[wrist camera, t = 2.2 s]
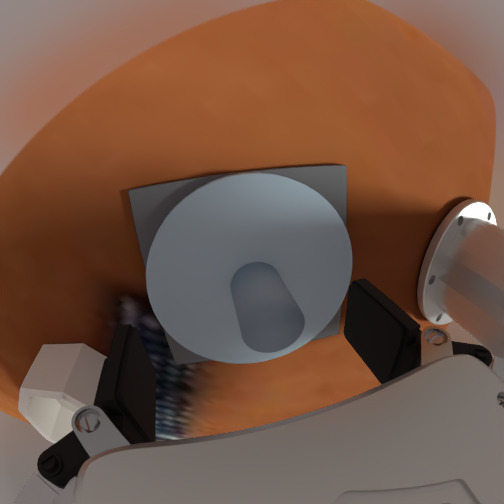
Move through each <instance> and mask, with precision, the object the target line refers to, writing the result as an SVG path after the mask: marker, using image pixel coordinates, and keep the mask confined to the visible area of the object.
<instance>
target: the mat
mask: <svg viewBox="0 0 504 504" xmlns="http://www.w3.org/2000/svg"><path fill="white" fill-rule="evenodd" d="M247 172H261V173H271V174H276V175H280V176H284V177H287V178H290V179H293V180H295V181H297V182H300V183H302V184H305V185H306V186H308V187H310V188H311V189H313V190H315V191H316V192H318V193H319V194H320V195H321V196H322V197H324V198H325V199H326V200H327V201H328V202H329V203H330V204H331V205H332V206H333V208H334V209H335V210H336V211H337V213H338V214H339V216H340V218H341V219H342V221H343V223H344V225H345V227H346V224H347V178H346V165H317V166H300V167H286V168H274V169H263V170H253V171H243V172H235V173H226V174H219V175H211V176H204V177H197V178H191V179H184V180H178V181H172V182H167V183H161V184H155V185H150V186H145V187H140V188H135V189H131V190H129V191H128V192H129V197H130V203H131V208H132V213H133V218H134V223H135V228H136V232H137V237H138V241H139V245H140V250H141V254H142V258H143V262H144V265H145V269H146V267H147V260H148V256H149V251H150V248H151V245H152V243H153V240H154V238H155V236H156V234H157V232H158V230H159V228H160V226H161V224H162V223H163V221H164V219H165V218H166V217H167V215H168V214H169V213H170V212H171V210H172V209H173V208H174V207H175V206H176V205H177V204H178V203H179V202H180V201H181V200H182V199H183V198H184V197H185V196H187V195H188V194H190V193H191V192H193V191H194V190H195V189H197V188H198V187H200V186H202V185H204V184H206V183H208V182H210V181H212V180H215V179H218V178H221V177H224V176H227V175H233V174H238V173H247ZM341 307H342V304H341V306H340V308H339V310H338V311H337V313H336V314H335V315H334V317H333V318H332V320H331V321H330V322H329V323H328V324H327V326H326V327H325V328H324V329H323V330H322V331H321V332H320V333H319V334H317V335H316V336H315V337H314V338H313V339H311V340H310V341H312V340H316V339H320V338H324V337H328V336H332V335H335V334H339V326H340V317H341ZM163 329H164V328H163ZM164 332H165V335H166V338H167V341H168V344H169V347H170V349H171V352H172V355H173V358H174V360H175V363H176V365H178V364H187V363H195V362H203V361H210V360H212V359H208V358H205V357H203V356H200V355H198V354H195V353H194V352H192V351H190V350H188V349H187V348H185V347H183V346H182V345H181V344H179V343H178V342H177V341H176V340H174V339H173V338H172V337H171V336H170V335H169V334H168V333H167V331H166V330H165V329H164Z"/></svg>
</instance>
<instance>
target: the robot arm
mask: <svg viewBox="0 0 504 504" xmlns="http://www.w3.org/2000/svg"><path fill="white" fill-rule="evenodd" d="M417 297H418V305H419V309H420V311H421V313H422V315H423V316H424V317H425V318H426V319H427V320H429V321H430V322H431V323H433V324H435V325H442V324H446V323H449V322H451V321H453V320H454V321H455V322H456V323H458V324H459V325H460V326H461V327H462V328H463V329H464V330H466V331H467V332H468V333H469V334H470V335H472V337H473V338H475V339H476V340H477V341H478V342H479V343H480V344H481V345H482V346H480V345H475V344H467V343H461V342H454V341H451V337H450V335H449V333H448V332H447V331H446V330H444V329H443V328H440V327H437V326H430V327H426V328H425V329H423V331H421V330H420V329H419V328H420V325H419V324H418V323H417V322H416V321H415V320H413V319H412V318H411V317H410V316H409V315H408V314H407V313H405V312H404V311H403V310H402V309H401V308H400V307H399V306H397V305H396V304H395V303H394V302H393V301H392V300H390V299H389V298H388V297H387V296H386V295H384V294H383V293H382V292H381V291H380V290H378V289H377V288H376V287H375V286H374V285H372V284H371V283H370V282H369V281H368V280H366V279H360V280H356V281H353V282H352V285H350V286H349V293H348V302H347V311H346V319H345V327H344V335H345V338H346V339H347V340H348V342H349V343H350V344H351V345H352V347H353V348H354V349H355V351H356V352H357V353H358V354H359V356H360V357H361V358H362V360H363V361H364V362H365V363H366V365H367V366H368V367H369V369H370V370H371V371H372V372H373V374H374V375H375V376H376V378H377V379H378V380H379V382H380V383H381V384H382V385H380V386H378V387H375V388H373V389H371V390H368V391H366V392H364V393H361V394H359V395H356V396H354V397H351V398H349V399H346V400H344V401H341V402H338V403H336V404H333V405H330V406H327V407H324V408H321V409H318V410H315V411H312V412H309V413H306V414H303V415H299V416H296V417H293V418H289V419H286V420H282V421H278V422H274V423H270V424H266V425H262V426H258V427H253V428H249V429H244V430H239V431H234V432H229V433H223V434H217V435H210V436H203V437H196V438H189V439H180V440H170V441H158V442H155V412H156V381H157V378H156V373H155V370H154V368H153V366H152V363H151V361H150V359H149V357H148V354H147V352H146V350H145V347H144V345H143V343H142V340H141V338H140V335H139V333H138V330H137V328H136V327H132V325H131V324H128V325H120V326H117V329H116V332H115V335H114V339H113V342H112V346H111V349H110V353H109V357H108V358H106V359H105V360H104V363H103V367H102V371H101V374H100V378H99V382H98V387H97V391H96V395H95V400H94V404H93V405H88V406H84V407H82V408H80V409H78V410H77V411H76V412H75V414H74V415H73V417H72V420H71V426H72V429H73V430H72V431H71V432H70V433H68V434H67V435H66V436H64V437H63V438H62V439H60V440H59V441H58V442H56V443H55V444H54V445H52V446H51V447H49V448H48V449H47V450H45V451H44V452H43V453H42V454H41V455H40V457H39V459H38V463H37V466H38V470H39V472H38V473H37V474H36V473H33V474H32V476H31V477H30V478H29V480H28V481H27V483H26V484H25V485H24V487H23V488H22V490H21V491H20V492H19V494H18V495H17V497H16V498H15V501H14V504H504V229H503V228H500V227H499V226H497V225H496V220H495V216H494V214H493V212H492V210H491V208H490V207H489V206H488V205H487V204H486V203H484V202H482V201H479V200H476V199H467V200H465V201H463V202H461V203H459V204H458V205H457V206H455V207H454V208H453V209H452V210H451V211H450V212H449V214H448V215H447V216H446V217H445V218H444V220H443V221H442V223H441V224H440V226H439V227H438V229H437V231H436V232H435V234H434V236H433V238H432V240H431V242H430V245H429V247H428V249H427V252H426V254H425V257H424V260H423V263H422V266H421V271H420V276H419V280H418V290H417ZM491 354H492V355H493V356H494V358H492V355H491Z"/></svg>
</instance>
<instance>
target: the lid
mask: <svg viewBox="0 0 504 504" xmlns="http://www.w3.org/2000/svg"><path fill="white" fill-rule="evenodd" d="M351 274H352V248H351V242H350V239H349V235H348V232H347V230H346V227H345V225H344V223H343V221H342V219H341V218H340V216H339V214H338V213H337V211H336V210H335V209H334V208H333V206H332V205H331V204H330V203H329V202H328V201H327V200H326V199H325V198H324V197H322V196H321V195H320V194H319V193H318V192H316V191H315V190H313V189H311V188H310V187H308V186H306V185H305V184H302V183H300V182H297V181H295V180H293V179H290V178H287V177H284V176H280V175H276V174H271V173H261V172H247V173H238V174H233V175H227V176H224V177H221V178H218V179H215V180H212V181H210V182H208V183H206V184H204V185H202V186H200V187H198V188H197V189H195V190H194V191H193V192H191V193H190V194H188V195H187V196H185V197H184V198H183V199H182V200H181V201H180V202H179V203H178V204H177V205H176V206H175V207H174V208H173V209H172V210H171V212H170V213H169V214H168V215H167V217H166V218H165V219H164V221H163V223H162V224H161V226H160V228H159V230H158V232H157V234H156V236H155V238H154V240H153V243H152V245H151V248H150V251H149V256H148V260H147V267H146V286H147V292H148V297H149V301H150V304H151V306H152V309H153V311H154V314H155V315H156V317H157V319H158V321H159V322H160V324H161V325H162V326H163V328H164V329H165V330H166V331H167V333H168V334H169V335H170V336H171V337H172V338H173V339H174V340H176V341H177V342H178V343H179V344H181V345H182V346H183V347H185V348H187V349H188V350H190V351H192V352H194V353H195V354H198V355H200V356H203V357H205V358H208V359H212V360H215V361H220V362H226V363H237V364H244V363H256V362H263V361H267V360H271V359H275V358H277V357H280V356H283V355H286V354H288V353H290V352H292V351H294V350H296V349H298V348H299V347H301V346H303V345H304V344H306V343H307V342H309V341H310V340H311V339H313V338H314V337H315V336H316V335H317V334H319V333H320V332H321V331H322V330H323V329H324V328H325V327H326V326H327V324H328V323H329V322H330V321H331V320H332V318H333V317H334V315H335V314H336V313H337V311H338V310H339V308H340V306H341V304H342V302H343V300H344V298H345V295H346V293H347V290H348V287H349V283H350V280H351Z"/></svg>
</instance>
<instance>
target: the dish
mask: <svg viewBox="0 0 504 504" xmlns="http://www.w3.org/2000/svg"><path fill="white" fill-rule="evenodd" d="M106 358H108V357H106V356H104V355H103V354H101V353H99V352H97V351H96V350H94V349H92V348H91V347H89V346H87V345H86V344H84V343H77V344H43V346H42V348H41V349H40V351H39V353H38V355H37V356H36V358H35V360H34V362H33V364H32V365H31V367H30V369H29V371H28V373H27V375H26V377H25V379H24V381H23V383H22V385H21V387H20V394H19V407H18V410H19V411H20V412H21V413H22V415H23V416H24V417H25V418H26V419H27V420H28V421H29V422H30V423H31V424H32V425H33V426H34V427H35V428H36V430H37V431H38V432H40V434H41V435H42V436H43V437H44V438H46V439H47V440H49V441H50V442H52V443H54V444H55V443H56V442H58V441H59V440H60V439H62V438H63V437H64V436H66V435H67V434H68V433H70V432H71V431H72V430H73V429H72V426H71V420H72V417H73V415H74V414H75V412H76V411H77V410H78V409H80V408H82V407H84V406H88V405H93V404H94V400H95V395H96V391H97V387H98V382H99V378H100V374H101V371H102V367H103V363H104V360H105V359H106Z"/></svg>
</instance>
